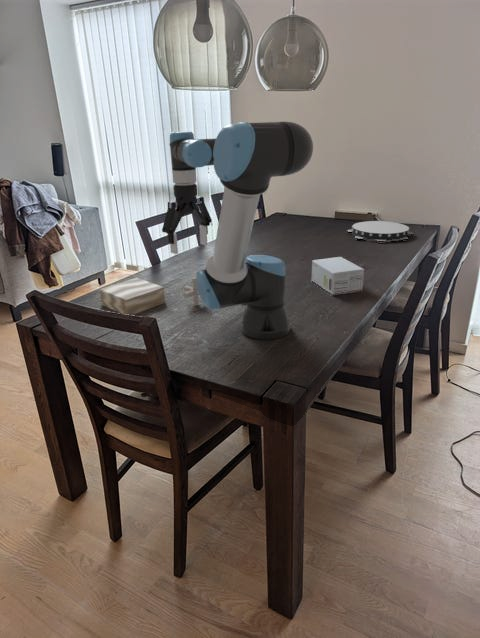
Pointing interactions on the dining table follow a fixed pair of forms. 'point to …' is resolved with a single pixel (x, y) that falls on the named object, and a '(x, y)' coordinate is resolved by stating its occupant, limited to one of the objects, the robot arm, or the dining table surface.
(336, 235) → the dining table surface
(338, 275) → the supplement box
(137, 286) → the stand
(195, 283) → the pipe connector
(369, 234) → the tambourine
